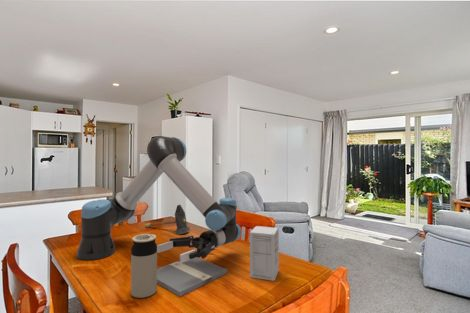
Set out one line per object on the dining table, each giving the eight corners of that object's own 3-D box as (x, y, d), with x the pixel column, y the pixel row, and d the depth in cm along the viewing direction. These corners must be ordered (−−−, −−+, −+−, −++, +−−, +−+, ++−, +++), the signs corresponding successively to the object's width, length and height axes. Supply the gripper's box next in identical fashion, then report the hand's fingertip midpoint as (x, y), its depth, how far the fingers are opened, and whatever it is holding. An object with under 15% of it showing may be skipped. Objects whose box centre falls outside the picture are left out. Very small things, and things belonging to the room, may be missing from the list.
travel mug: (131, 301, 80) (131, 242, 80) (130, 288, 88) (130, 235, 87) (158, 295, 83) (158, 239, 83) (155, 284, 91) (155, 232, 91)
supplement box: (279, 270, 102) (279, 227, 102) (275, 281, 93) (275, 234, 93) (255, 267, 105) (255, 225, 105) (249, 277, 96) (249, 231, 96)
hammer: (147, 209, 165) (185, 203, 152) (152, 235, 164) (190, 231, 151) (140, 211, 160) (178, 205, 147) (144, 237, 158) (183, 233, 145)
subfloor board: (146, 277, 96) (146, 272, 96) (192, 259, 113) (192, 255, 113) (179, 296, 83) (179, 291, 83) (227, 273, 99) (227, 269, 99)
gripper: (234, 256, 100) (191, 275, 84) (192, 241, 117) (149, 255, 101) (234, 236, 100) (191, 251, 84) (192, 224, 117) (149, 235, 100)
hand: (168, 253), depth 92 cm, fingers open, 13 cm apart
